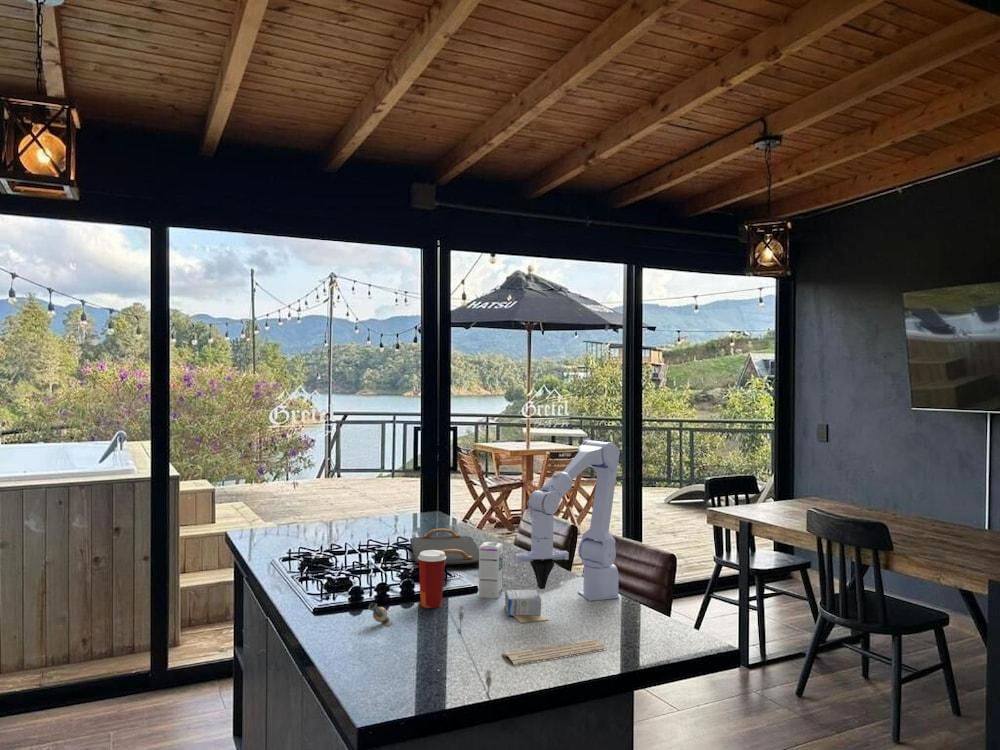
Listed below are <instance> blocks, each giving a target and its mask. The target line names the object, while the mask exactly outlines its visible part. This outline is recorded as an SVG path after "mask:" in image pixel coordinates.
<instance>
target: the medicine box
mask: <svg viewBox="0 0 1000 750" xmlns="http://www.w3.org/2000/svg"><path fill="white" fill-rule="evenodd" d="M504 595H505V596H504V606H505V607H506V608H505V607H504V608H505V610H506V614H507V615H508V616H513V615H540V614H541V613H542V598H541V596H540V594H539V593H538V590H537V589H505V593H504Z"/></svg>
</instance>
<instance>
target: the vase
mask: <svg viewBox="0 0 1000 750" xmlns="http://www.w3.org/2000/svg"><path fill="white" fill-rule="evenodd" d="M368 610H370V611H372V617H373V619H374V620H375V621H376V622H378V623H381V625H383V626H386V627H385V628H389V627H391V626H392V627H393V626H394V623H393V622H392V621H391V619H390V617H389V616H388V611H387V609H386V608H385V607H383V606H378V603H377V602H371V603H369V605H368Z"/></svg>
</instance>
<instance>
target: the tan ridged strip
mask: <svg viewBox="0 0 1000 750" xmlns="http://www.w3.org/2000/svg"><path fill="white" fill-rule="evenodd" d="M604 649H606V650H607V647H606V646H605V645H604V644H603V642H601V641H600V640H598V639H595V638H594V639H587V640H582V641H577V642H575V641H574V642H570V643H569V642H568V643H561V644H557V645H552V646H546V647H545V646H543V647H538V648H533V649H527V650H526V649H525V650H519V651H513V652H508V653H501V657H504V658H507V657H508V658H509V659H510V661H511V662H512V663H513V667H518V665H519V666H523V665H522V664H524V665H528V664H527V663H530V664H533V663H532V662H536V663H538V662H537V661H542V662H544V661H543V660H547V661H551V660H550V659H553V660H555V659H554V658H559V659H561V658H560V657H565V656H570V655H571V656H570V657H573V656H572V655H576V656H578V655H577V654H582V655H584V654H583V653H588V654H590V653H589V652H594V651H599V650H604ZM599 652H600V651H599ZM594 653H595V652H594ZM565 658H566V657H565Z"/></svg>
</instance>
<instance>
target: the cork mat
mask: <svg viewBox="0 0 1000 750" xmlns="http://www.w3.org/2000/svg"><path fill="white" fill-rule="evenodd" d="M504 608H505V609H506V607H505V605H504ZM512 616H513V617H514V618H515V619H516V620H517V621H518V623H520V624H524V623H525V622H527V623H535V622H534V621H538V622H547V621H549V618H547V616H545V615H544V614H543V613H542V612H541V614H540V615H512ZM525 624H526V623H525Z"/></svg>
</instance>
